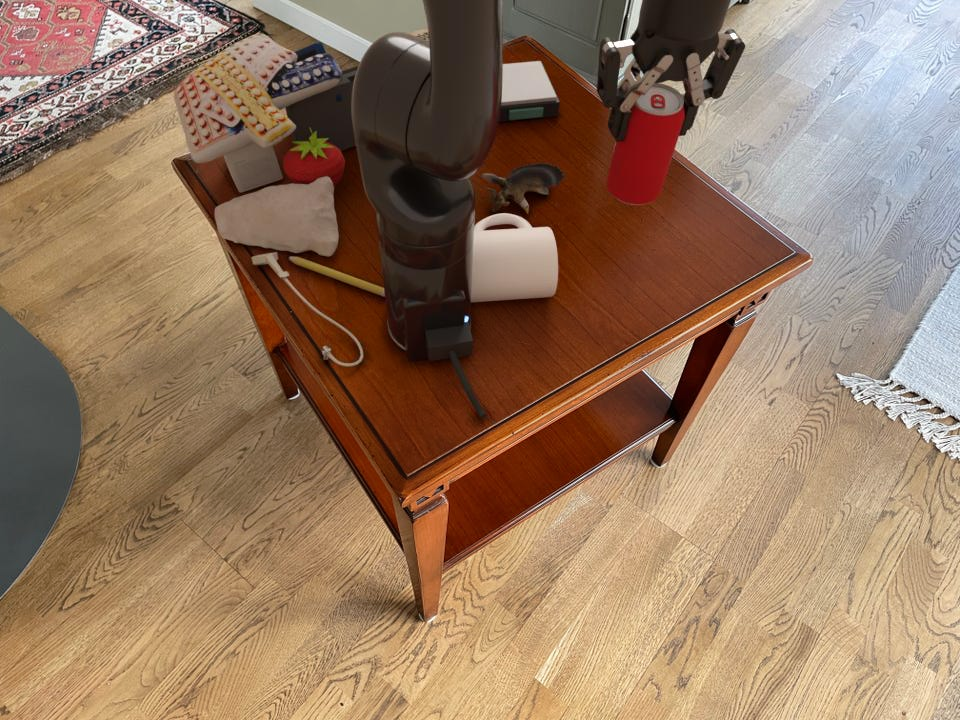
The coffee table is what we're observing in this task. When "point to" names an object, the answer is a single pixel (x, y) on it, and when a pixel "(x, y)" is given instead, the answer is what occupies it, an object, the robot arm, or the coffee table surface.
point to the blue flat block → (311, 51)
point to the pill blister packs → (247, 96)
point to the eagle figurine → (523, 183)
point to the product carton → (253, 167)
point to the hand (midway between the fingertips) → (648, 133)
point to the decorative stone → (283, 218)
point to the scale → (527, 92)
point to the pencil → (337, 275)
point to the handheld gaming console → (326, 114)
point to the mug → (513, 260)
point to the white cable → (272, 261)
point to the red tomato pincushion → (313, 161)
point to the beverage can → (646, 146)
